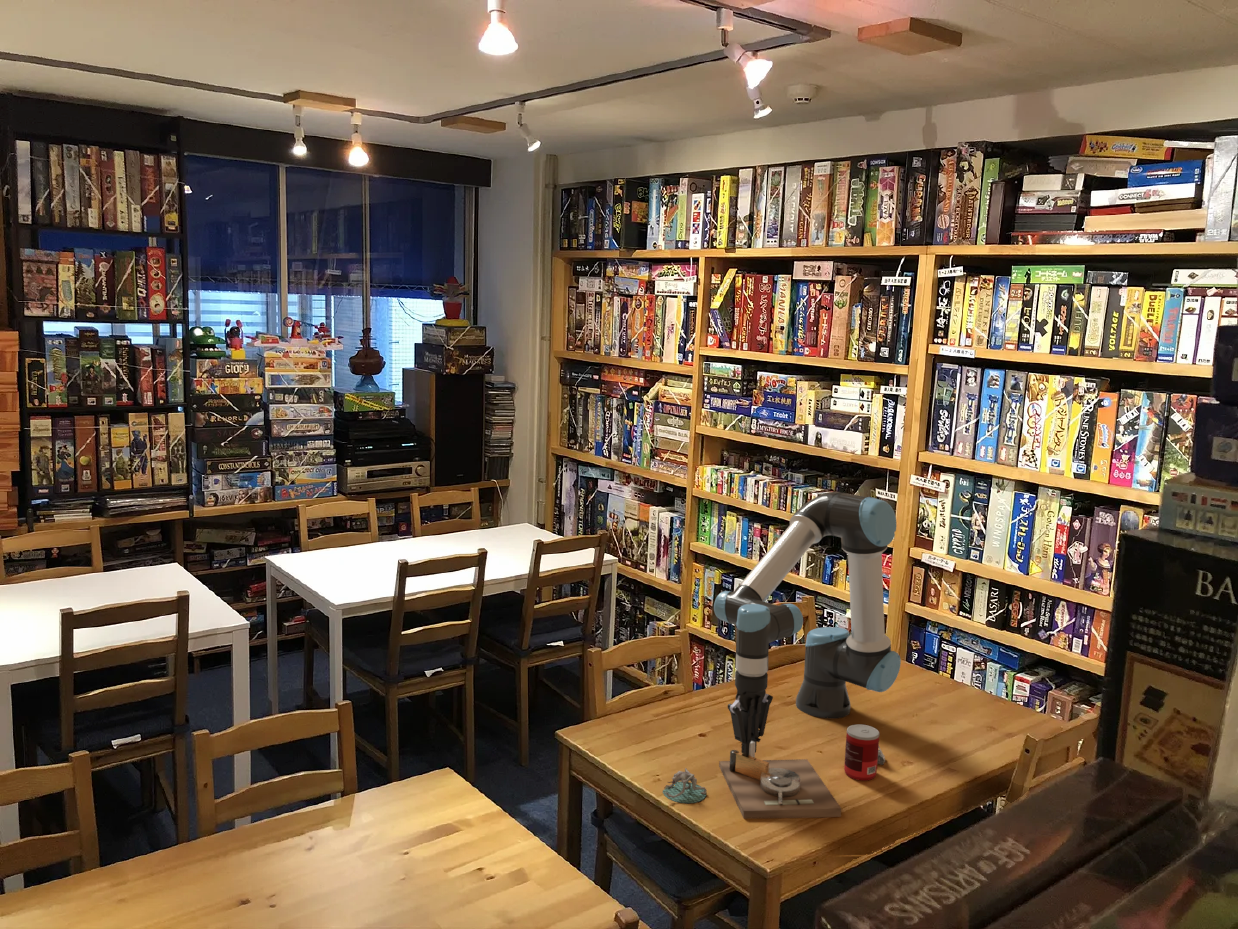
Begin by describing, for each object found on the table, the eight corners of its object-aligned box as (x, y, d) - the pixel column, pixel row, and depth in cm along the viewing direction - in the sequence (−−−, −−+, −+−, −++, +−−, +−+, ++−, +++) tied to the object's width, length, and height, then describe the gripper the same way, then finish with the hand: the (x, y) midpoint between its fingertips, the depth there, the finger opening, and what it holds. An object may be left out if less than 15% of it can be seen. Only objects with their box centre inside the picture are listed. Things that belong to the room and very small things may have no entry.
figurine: (648, 789, 220) (649, 764, 219) (694, 781, 225) (696, 756, 224) (669, 812, 210) (670, 786, 209) (717, 804, 214) (718, 778, 213)
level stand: (718, 769, 231) (719, 760, 231) (806, 767, 234) (807, 758, 233) (743, 819, 207) (744, 809, 207) (840, 816, 210) (841, 807, 210)
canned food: (877, 769, 234) (880, 726, 232) (875, 783, 226) (878, 740, 225) (845, 764, 236) (848, 722, 234) (842, 778, 228) (845, 734, 227)
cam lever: (712, 779, 221) (713, 761, 220) (740, 762, 230) (741, 744, 229) (781, 806, 210) (782, 786, 209) (807, 787, 219) (808, 768, 218)
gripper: (759, 661, 229) (756, 754, 232) (720, 672, 221) (717, 768, 224) (782, 670, 223) (778, 765, 226) (743, 682, 215) (740, 780, 218)
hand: (748, 766), depth 225 cm, fingers closed
